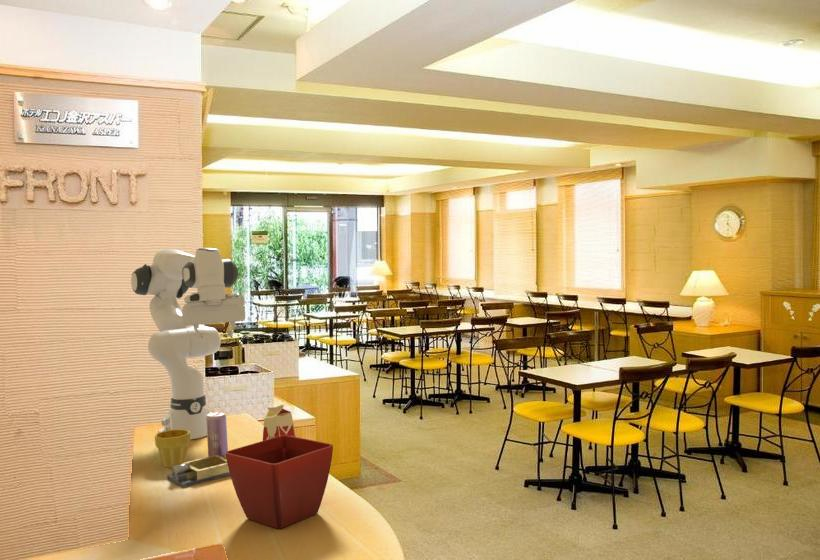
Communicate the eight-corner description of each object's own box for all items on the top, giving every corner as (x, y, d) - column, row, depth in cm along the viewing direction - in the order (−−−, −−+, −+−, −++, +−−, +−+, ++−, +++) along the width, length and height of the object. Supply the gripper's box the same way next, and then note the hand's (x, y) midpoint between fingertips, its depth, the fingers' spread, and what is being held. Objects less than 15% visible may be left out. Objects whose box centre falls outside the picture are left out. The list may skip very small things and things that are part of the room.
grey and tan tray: (167, 478, 201) (166, 462, 201) (233, 461, 214) (232, 446, 214) (183, 487, 192) (182, 470, 192) (251, 469, 206) (250, 453, 205)
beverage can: (231, 458, 218) (228, 411, 218) (224, 464, 212) (221, 416, 212) (212, 458, 219) (210, 411, 218) (205, 464, 213) (203, 416, 212)
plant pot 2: (287, 496, 182) (284, 433, 181) (338, 511, 169) (335, 444, 169) (226, 520, 167) (223, 451, 166) (277, 538, 155) (274, 464, 154)
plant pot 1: (191, 466, 211) (189, 435, 211) (155, 471, 208) (153, 439, 208) (191, 457, 221) (190, 427, 221) (157, 461, 218) (155, 431, 218)
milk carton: (302, 469, 204) (299, 402, 203) (277, 477, 198) (274, 408, 197) (284, 463, 211) (281, 398, 210) (259, 471, 204) (255, 404, 203)
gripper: (242, 293, 235) (245, 334, 234) (179, 298, 226) (182, 340, 226) (245, 292, 229) (248, 333, 228) (181, 297, 221) (184, 340, 220)
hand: (215, 337), depth 227 cm, fingers open, 8 cm apart
